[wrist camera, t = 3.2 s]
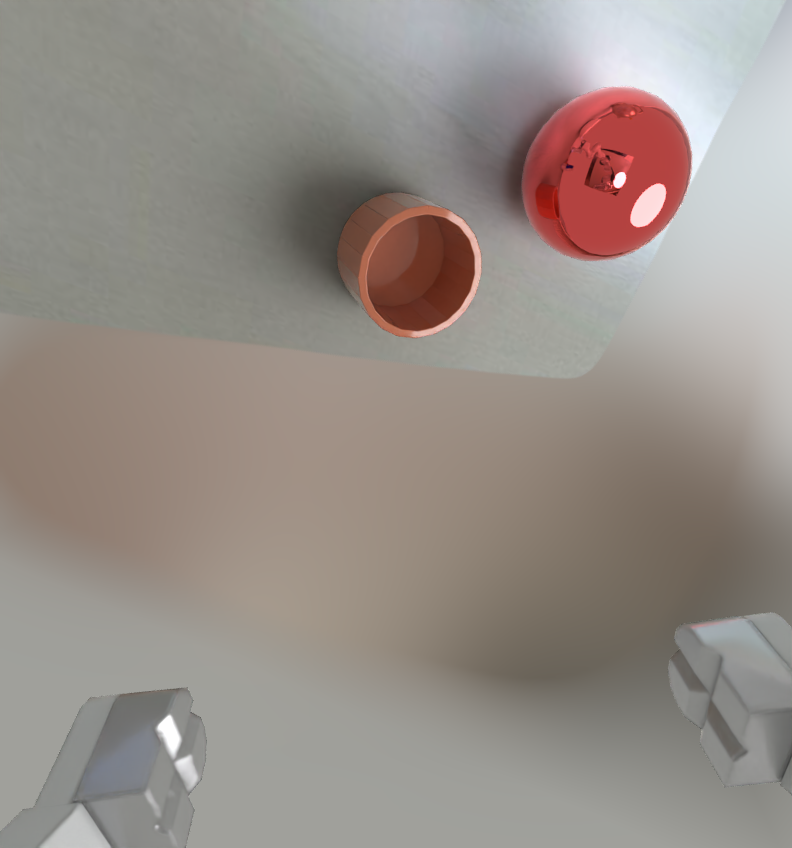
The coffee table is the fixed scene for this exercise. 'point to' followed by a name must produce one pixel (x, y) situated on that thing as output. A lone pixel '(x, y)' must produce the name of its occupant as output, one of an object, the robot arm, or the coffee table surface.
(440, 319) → the cup
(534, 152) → the ball
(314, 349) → the coffee table surface
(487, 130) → the coffee table surface
